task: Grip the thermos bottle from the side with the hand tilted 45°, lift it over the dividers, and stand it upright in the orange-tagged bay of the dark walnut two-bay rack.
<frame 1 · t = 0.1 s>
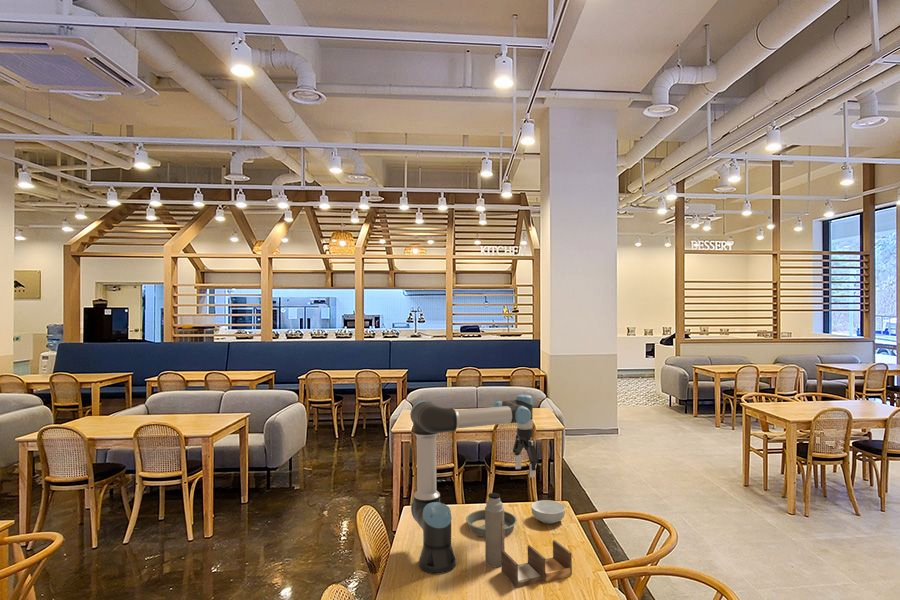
hand: (525, 472, 235), 28 cm above the table, tool pointing down, fingers open, 13 cm apart
thermos bottle: (495, 562, 206), on the table
cereal bowl: (548, 520, 247), on the table
rack: (536, 573, 197), on the table
cake pan: (491, 528, 240), on the table
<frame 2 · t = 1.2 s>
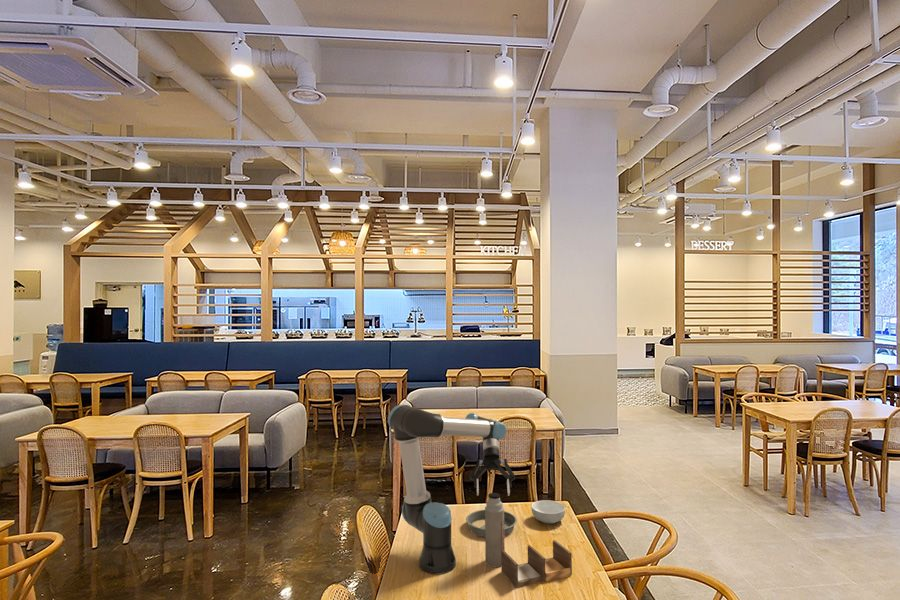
hand: (493, 494, 217), 24 cm above the table, tool tilted 45°, fingers open, 13 cm apart
nothing on the table moved.
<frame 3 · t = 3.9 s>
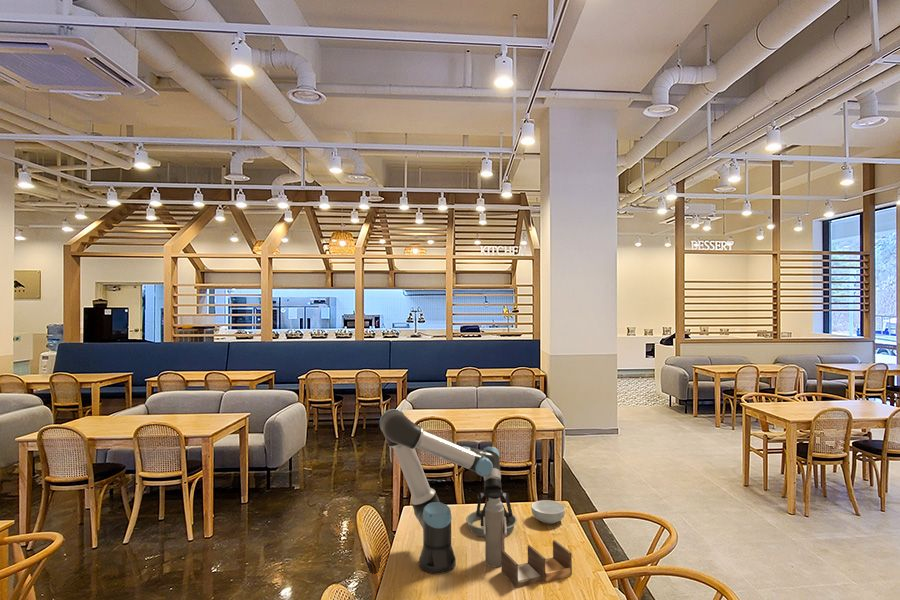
hand: (495, 533, 203), 13 cm above the table, tool tilted 45°, fingers closed on thermos bottle, 8 cm apart
thermos bottle: (495, 562, 206), on the table, touching gripper
everything else where it was.
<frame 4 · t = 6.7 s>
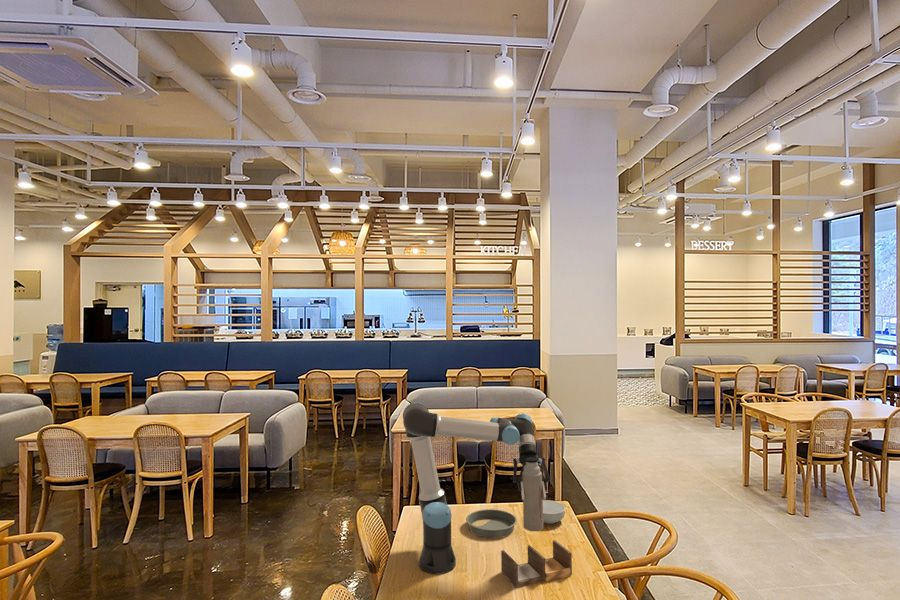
hand: (534, 498, 200), 29 cm above the table, tool tilted 45°, fingers closed on thermos bottle, 8 cm apart
thermos bottle: (533, 527, 203), point 15 cm above the table, touching gripper
everything else where it was.
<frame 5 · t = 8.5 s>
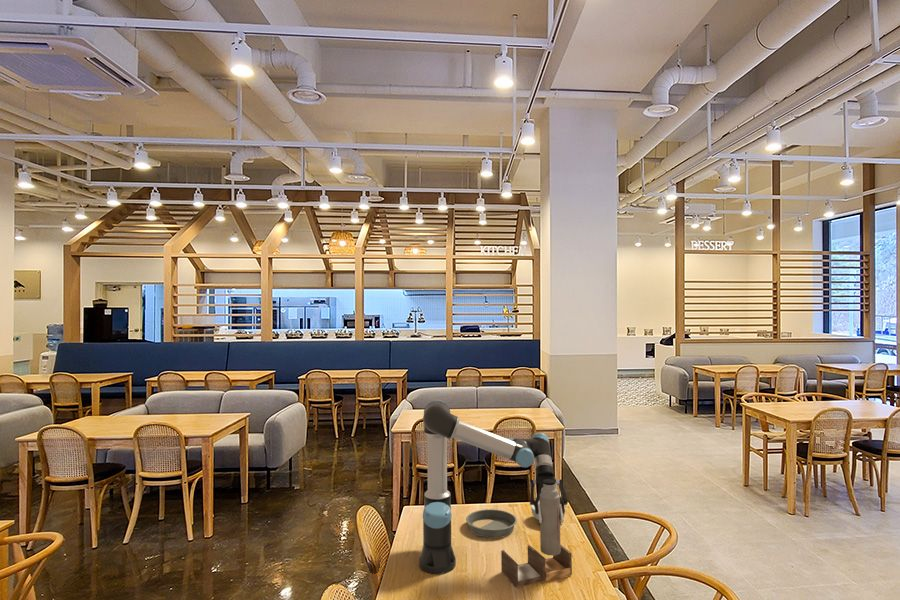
hand: (551, 521, 196), 21 cm above the table, tool tilted 45°, fingers closed on thermos bottle, 8 cm apart
thermos bottle: (550, 551, 199), point 8 cm above the table, touching gripper
everything else where it was.
when the fingers open (16 cm above the table, at t = 9.8 s): thermos bottle drops 1 cm, resting on rack.
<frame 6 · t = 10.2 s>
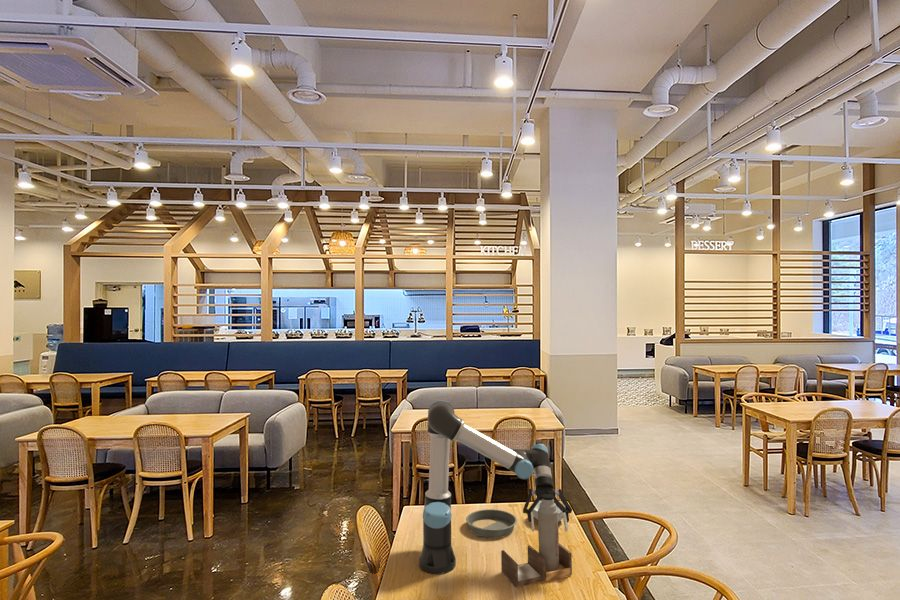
hand: (549, 530, 197), 17 cm above the table, tool tilted 45°, fingers open, 13 cm apart
thermos bottle: (549, 566, 199), point 1 cm above the table, touching rack
everything else where it was.
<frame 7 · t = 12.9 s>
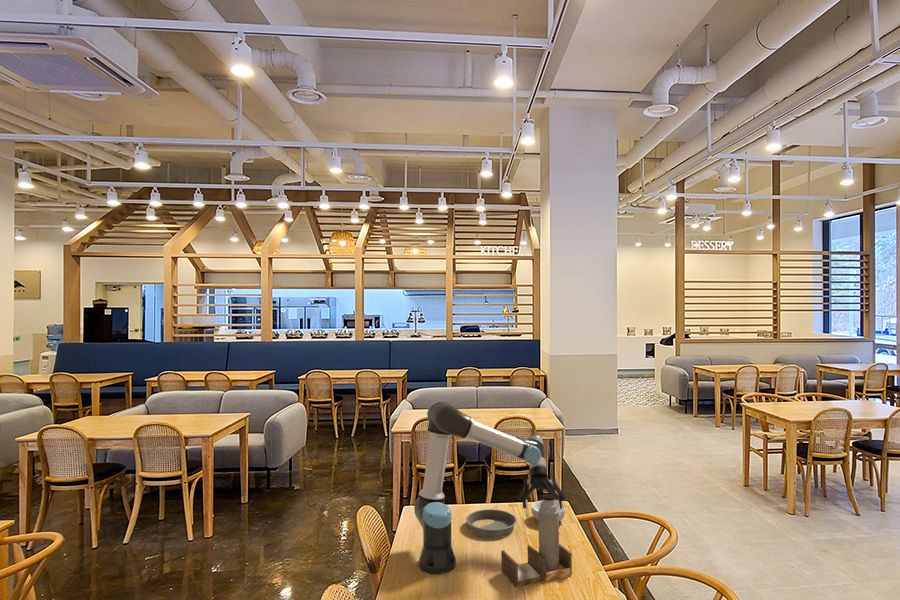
hand: (543, 516, 210), 17 cm above the table, tool tilted 45°, fingers open, 13 cm apart
nothing on the table moved.
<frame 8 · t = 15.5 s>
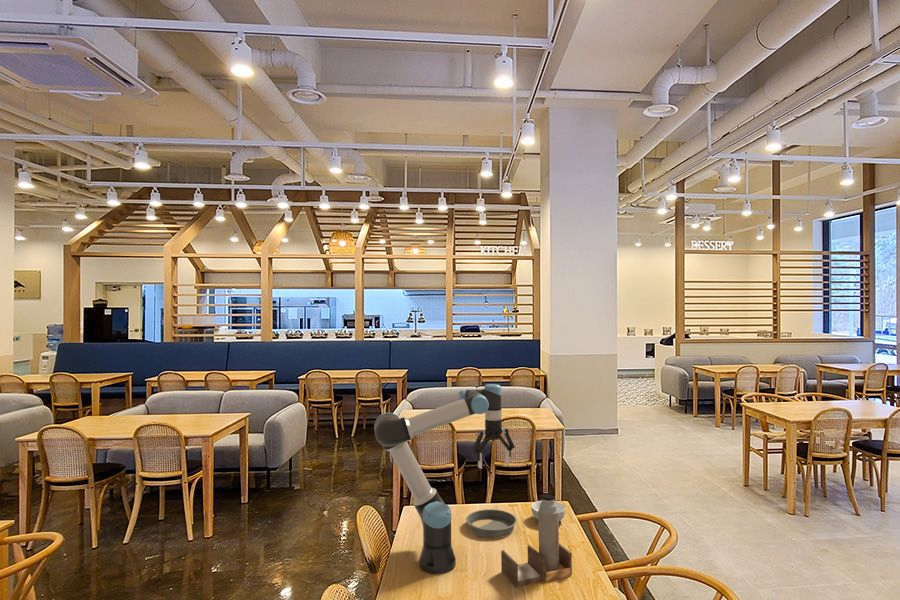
hand: (493, 466, 223), 35 cm above the table, tool pointing down, fingers open, 13 cm apart
nothing on the table moved.
at the end: thermos bottle 0.2 cm from the target spot on the rack, point 1.5 cm above the rack's base; thermos bottle tilted 0°; the gripper is holding nothing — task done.
